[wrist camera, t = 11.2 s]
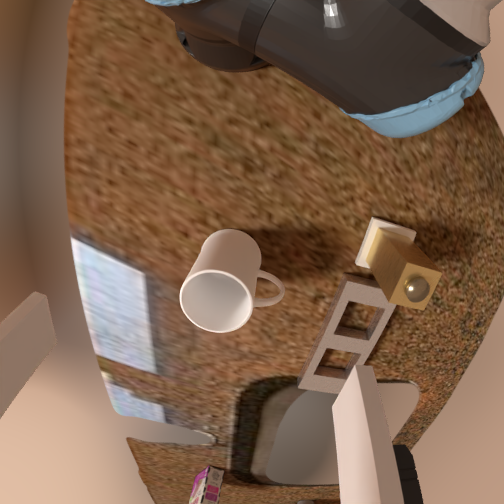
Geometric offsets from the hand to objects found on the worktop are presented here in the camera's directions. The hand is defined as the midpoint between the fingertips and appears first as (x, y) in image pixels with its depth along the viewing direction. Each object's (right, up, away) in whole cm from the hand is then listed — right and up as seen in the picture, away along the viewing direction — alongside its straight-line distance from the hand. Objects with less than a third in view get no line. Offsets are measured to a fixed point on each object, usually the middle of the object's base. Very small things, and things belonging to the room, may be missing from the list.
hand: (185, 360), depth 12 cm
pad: (+21, +5, +30) cm, 37 cm away
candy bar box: (-10, -58, +60) cm, 85 cm away
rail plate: (+18, -10, +37) cm, 42 cm away
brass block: (+21, +5, +29) cm, 36 cm away
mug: (+1, +3, +33) cm, 33 cm away
